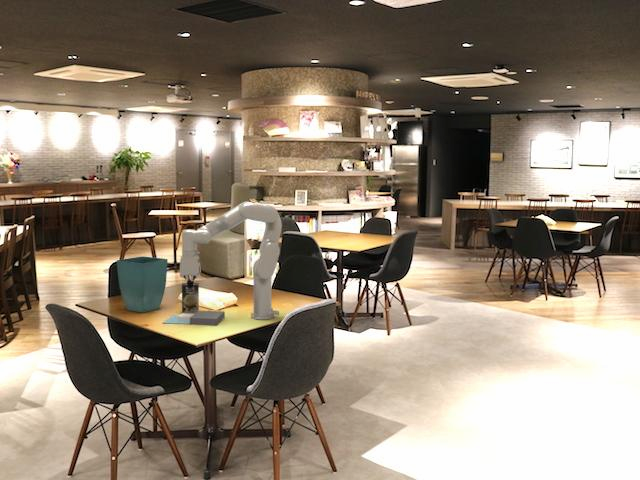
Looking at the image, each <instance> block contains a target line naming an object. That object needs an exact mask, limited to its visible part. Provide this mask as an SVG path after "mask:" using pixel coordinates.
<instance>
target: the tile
mask: <svg viewBox="0 0 640 480" xmlns="http://www.w3.org/2000/svg"><path fill="white" fill-rule="evenodd" d="M178 315H179V316H177V321H190V317H191V316H193V315H194V314H187V313H182V312H181V313H180V314H178Z"/></svg>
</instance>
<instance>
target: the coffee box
mask: <svg viewBox="0 0 640 480" xmlns="http://www.w3.org/2000/svg"><path fill="white" fill-rule="evenodd" d="M199 287H200V286H199V283H198V282H194V287H193V288H192V289H188V287H187V282H182V283H181V314H182V313H187V314H195V313H197V312H198V311H199V310H200V309H199V307H200V306H199V302H200V301H199V298H200V296H199V294H200V289H199Z"/></svg>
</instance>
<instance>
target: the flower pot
mask: <svg viewBox="0 0 640 480" xmlns="http://www.w3.org/2000/svg"><path fill="white" fill-rule="evenodd" d="M168 261H169V260H168V258H160V257H152V256H145V255H143V256H136V257H129V258H123V259H118V260H116V269H117V276H118V277H117V278H118V285H119V286H118V287H119V291H120V294H121V298H122V300H123V303H124V305H125V307H126V310H128V311H131V312H138V313H147V312H151V311H154V310H159V308H160V306H161V304H162V301H163V298H164V295H165V291H166V287H167V286H166V285H167V271H168Z"/></svg>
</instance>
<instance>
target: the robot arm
mask: <svg viewBox="0 0 640 480" xmlns="http://www.w3.org/2000/svg"><path fill="white" fill-rule="evenodd" d="M247 220H251V221H256V222H260V223H265V229H264V232H263V237H262V238H261V239H262V240H261V242H260V245H259V252H260V255H259V258H258V259H256V260H255V261H254V263H253V267H252V277H253V313H251V314H250V318H251V319H253V320H261V321H262V320H265V321H266V320H271V319H273V318H275V315H277V316H279V315H280V311H279V310H274V309H273V307H272V277H273V275H274V273H275V270H276V268H277V267H276V266H277V264H278V260H279V257H280V253H281V252H280V251H281V250H280V245H279V241H280V237H281V235H282V228H283V224H282V219H281V217H280V214H279V212H278V210H277V209H276V208H275V207H274V206H272V205H271V204H270V205H267V204H266V205H263V204H259V203H258V204H257V203H253V202H250V201H243V202H241V203H240V204H238V205H236V206H234V207H233V208H232V209H230V210H229V211H227V212H225V213H223V214H222V215H220V216H218V217H217V218H215V219H213V220H211V221H210V222H208V223H207V224H205V225H204V226H201V227H200V228H199V229H198V230H196V229H193V228H192V229H191V228H189V229H183V230H182V231H181V252H182V253H181V256H180V261H179V277H180V278H183V279H184V280H185V281H186V283H187V287H188V289H192V288H193V287H194V283H195V282H194V281H195V280H196V279H198V278H201V273H202V271H201V268H202V267H201V261H200V256H199V255H200V254H201V252H200V251H199V250H198V244H199V245H200V244H202V245H207V244H209V243H210V242H212V238H213V237H215V236H217V235H218V234H220V233H222V232H224V231H228V230H231V229H233V228H235V227H236V226H237V227H238V225H240V224H242V223H243V222H244V221H247Z"/></svg>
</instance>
